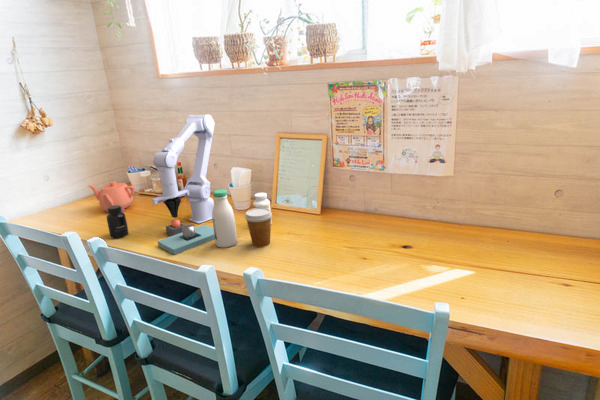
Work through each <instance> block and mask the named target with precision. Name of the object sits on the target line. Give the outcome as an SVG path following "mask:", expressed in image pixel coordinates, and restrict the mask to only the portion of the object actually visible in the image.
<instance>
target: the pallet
mask: <svg viewBox="0 0 600 400" xmlns="http://www.w3.org/2000/svg"><path fill="white" fill-rule="evenodd" d="M194 229H195V235H196V238H194V239H191V240H189V241H186V240H184V238H183V232H182V233H179V234H176V235H173V236H171V235H170V236H168V237H165V238H162V239H159V240H157V244H158V247H160V248H161V249H164V251H167V252H169V253H170V254H172V255H175V256H177V255H179V254H181V253H184V252H187V251H188V250H192V249H193V248H196V247H199V246H202V245H204V244H207V243H210V242H212V241H214V240H215V234H214V227H212V226H210V225H207V224H202V225H199V226H196V227H194Z"/></svg>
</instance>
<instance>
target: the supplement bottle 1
mask: <svg viewBox="0 0 600 400" xmlns="http://www.w3.org/2000/svg"><path fill="white" fill-rule="evenodd" d="M107 209H108V213H107V215H106V223H107V226H108V232H109V236H110V237H111V239H122V238H125V237H127V236H128V235H129V227H128V222H127V218H126V214H125V212H121V211H122V209H121V206H119V205H115V206H110V207H108V208H107Z"/></svg>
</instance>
